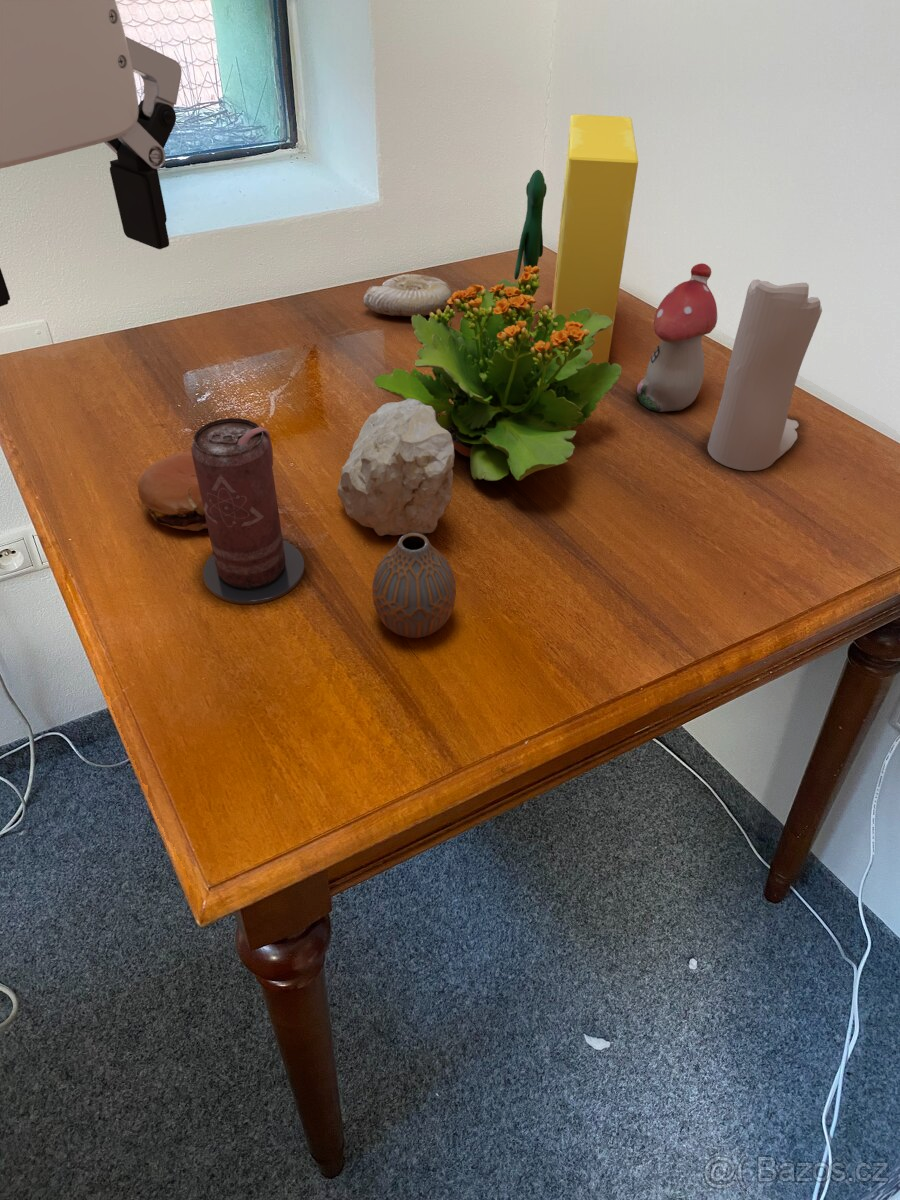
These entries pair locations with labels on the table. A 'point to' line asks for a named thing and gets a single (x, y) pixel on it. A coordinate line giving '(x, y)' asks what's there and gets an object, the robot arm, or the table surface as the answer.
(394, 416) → the stone
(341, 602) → the table surface
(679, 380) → the decorative ornament
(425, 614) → the vase
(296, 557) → the coaster
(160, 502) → the burger
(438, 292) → the fossil
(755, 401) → the candle
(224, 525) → the can
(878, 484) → the table surface
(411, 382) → the potted flower
